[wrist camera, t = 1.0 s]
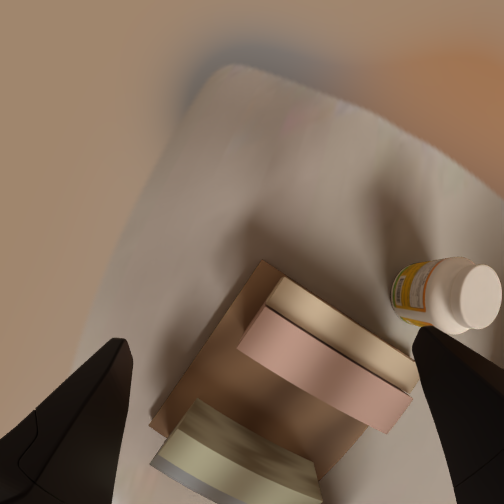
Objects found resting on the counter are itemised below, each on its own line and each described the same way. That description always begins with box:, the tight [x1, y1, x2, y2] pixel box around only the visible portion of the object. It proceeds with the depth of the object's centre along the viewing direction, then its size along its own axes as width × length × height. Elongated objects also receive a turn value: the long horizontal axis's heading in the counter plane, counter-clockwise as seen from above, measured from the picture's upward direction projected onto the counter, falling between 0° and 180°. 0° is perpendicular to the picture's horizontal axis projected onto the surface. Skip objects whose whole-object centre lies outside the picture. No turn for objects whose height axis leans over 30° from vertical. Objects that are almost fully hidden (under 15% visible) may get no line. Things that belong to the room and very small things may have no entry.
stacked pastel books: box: [148, 260, 420, 504], centre depth 20 cm, size 16×18×7 cm
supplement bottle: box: [391, 257, 502, 334], centre depth 19 cm, size 5×5×10 cm
